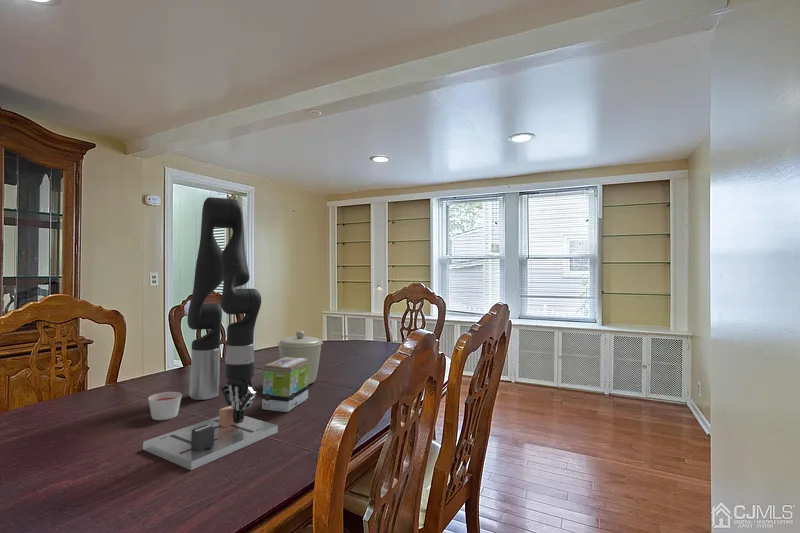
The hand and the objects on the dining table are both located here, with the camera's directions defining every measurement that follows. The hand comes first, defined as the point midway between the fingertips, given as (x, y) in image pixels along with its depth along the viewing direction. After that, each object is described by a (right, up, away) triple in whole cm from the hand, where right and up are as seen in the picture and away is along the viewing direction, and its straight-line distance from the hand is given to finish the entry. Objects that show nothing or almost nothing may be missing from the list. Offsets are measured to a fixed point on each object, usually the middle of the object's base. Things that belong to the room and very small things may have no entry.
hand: (238, 422), depth 114 cm
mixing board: (-5, -3, -4) cm, 7 cm away
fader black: (-4, -1, -13) cm, 14 cm away
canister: (+4, -4, +53) cm, 53 cm away
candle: (-28, -3, +12) cm, 30 cm away
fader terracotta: (-4, -1, +2) cm, 4 cm away
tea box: (+6, -4, +26) cm, 27 cm away
